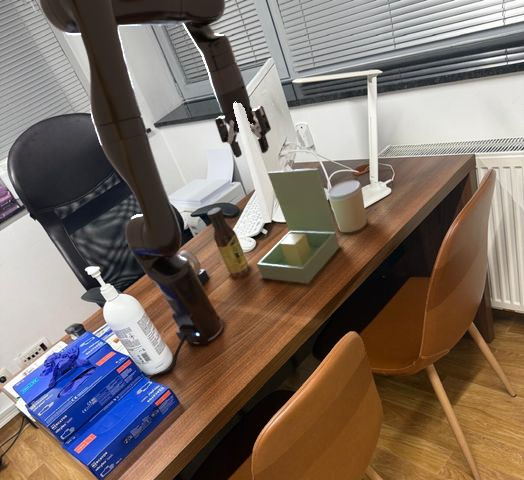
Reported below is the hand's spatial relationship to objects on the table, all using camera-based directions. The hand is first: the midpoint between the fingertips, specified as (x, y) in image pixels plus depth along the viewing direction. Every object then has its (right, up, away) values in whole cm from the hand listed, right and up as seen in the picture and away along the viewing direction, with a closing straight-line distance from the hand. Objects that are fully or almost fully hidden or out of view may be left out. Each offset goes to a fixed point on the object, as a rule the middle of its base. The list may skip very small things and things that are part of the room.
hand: (252, 154), depth 119 cm
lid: (+13, -13, +1) cm, 18 cm away
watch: (-17, -31, +19) cm, 40 cm away
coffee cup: (+29, -16, +12) cm, 35 cm away
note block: (+13, -27, +6) cm, 31 cm away
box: (+13, -28, +6) cm, 32 cm away
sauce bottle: (-4, -29, +15) cm, 32 cm away
